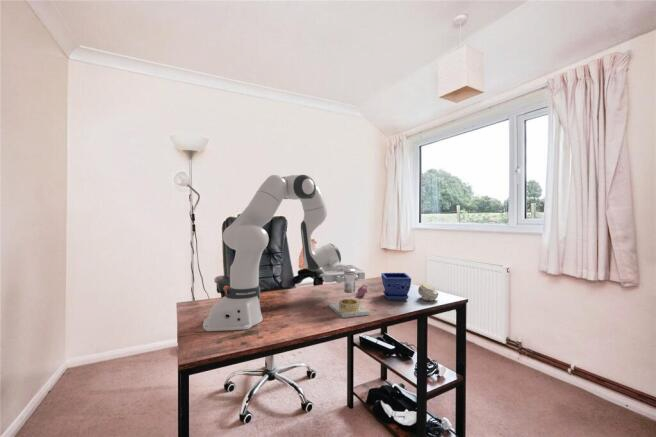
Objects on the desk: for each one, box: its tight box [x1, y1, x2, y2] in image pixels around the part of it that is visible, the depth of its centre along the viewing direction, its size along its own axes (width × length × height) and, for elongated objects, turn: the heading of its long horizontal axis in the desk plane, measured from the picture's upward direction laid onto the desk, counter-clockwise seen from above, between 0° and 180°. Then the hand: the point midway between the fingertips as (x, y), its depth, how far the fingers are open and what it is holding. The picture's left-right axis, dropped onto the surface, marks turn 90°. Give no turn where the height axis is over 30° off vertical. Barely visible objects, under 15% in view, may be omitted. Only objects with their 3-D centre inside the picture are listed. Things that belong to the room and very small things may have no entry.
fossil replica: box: [417, 282, 439, 302], centre depth 145 cm, size 12×8×10 cm
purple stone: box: [356, 283, 369, 298], centre depth 153 cm, size 10×5×7 cm, turn 169°
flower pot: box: [381, 272, 412, 301], centre depth 148 cm, size 13×13×12 cm
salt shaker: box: [343, 268, 356, 294], centre depth 128 cm, size 5×5×10 cm
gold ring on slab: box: [329, 298, 371, 319], centre depth 128 cm, size 13×15×4 cm
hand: (350, 279), depth 127 cm, fingers closed on salt shaker, 5 cm apart
